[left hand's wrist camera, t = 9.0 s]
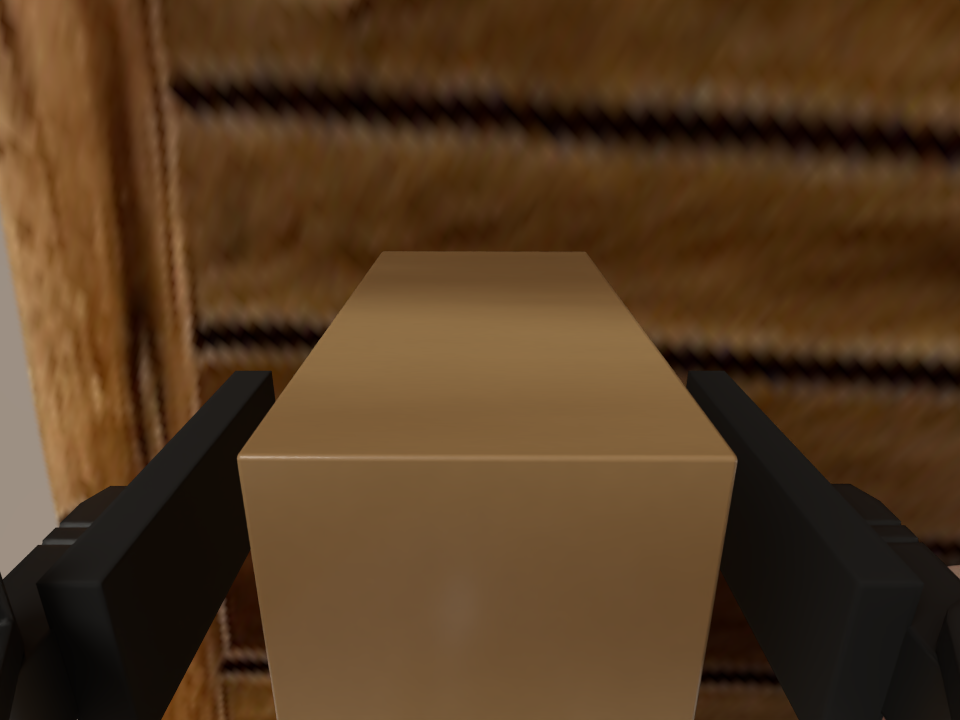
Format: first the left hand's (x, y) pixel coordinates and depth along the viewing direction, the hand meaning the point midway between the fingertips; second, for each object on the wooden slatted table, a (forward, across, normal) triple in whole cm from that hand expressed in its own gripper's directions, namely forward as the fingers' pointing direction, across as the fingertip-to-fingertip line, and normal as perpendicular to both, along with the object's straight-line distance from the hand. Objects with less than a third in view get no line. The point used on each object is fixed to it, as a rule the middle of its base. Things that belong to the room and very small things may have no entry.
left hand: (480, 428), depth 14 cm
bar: (+2, 0, -9) cm, 9 cm away
